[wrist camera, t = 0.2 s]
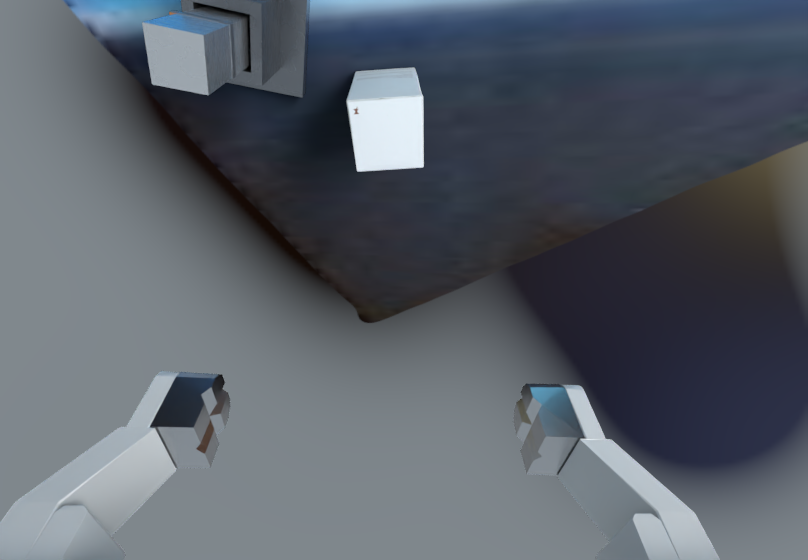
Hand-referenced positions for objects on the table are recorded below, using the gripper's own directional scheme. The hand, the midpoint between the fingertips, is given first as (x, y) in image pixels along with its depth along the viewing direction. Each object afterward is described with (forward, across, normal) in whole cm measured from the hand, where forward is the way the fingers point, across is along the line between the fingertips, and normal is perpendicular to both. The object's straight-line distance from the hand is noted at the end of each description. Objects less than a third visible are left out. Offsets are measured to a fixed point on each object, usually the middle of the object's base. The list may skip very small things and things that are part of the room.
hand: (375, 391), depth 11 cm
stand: (+46, +15, -2) cm, 49 cm away
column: (+44, +15, -3) cm, 47 cm away
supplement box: (+47, 0, +4) cm, 47 cm away
